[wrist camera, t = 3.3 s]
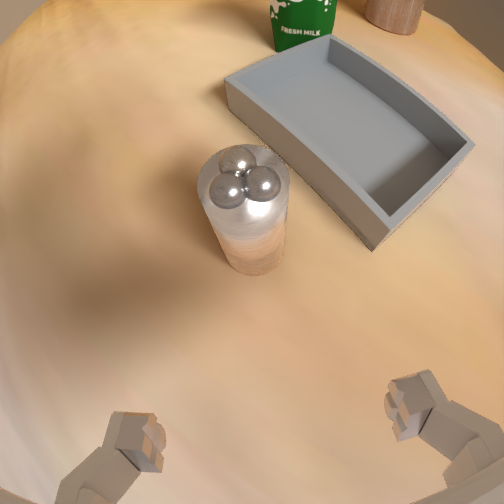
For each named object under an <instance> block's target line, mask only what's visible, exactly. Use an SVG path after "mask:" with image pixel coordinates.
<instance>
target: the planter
mask: <svg viewBox="0 0 504 504" xmlns="http://www.w3.org/2000/svg"><path fill="white" fill-rule="evenodd" d="M424 3H425V0H366V6H365V14H364V15H365V17H366V19H367V20H368V21H370V22H371V23H372V24H374V25H375V26H377V27H379V28H381V29H383V30H386V31H389V32H392V33H396V34H400V35H411V34H414V33H415V31H416V29H417V26H418V23H419V20H420V16H421V13H422V10H423V6H424Z"/></svg>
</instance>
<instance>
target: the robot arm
mask: <svg viewBox="0 0 504 504" xmlns="http://www.w3.org/2000/svg"><path fill="white" fill-rule="evenodd" d="M388 389H389V392H388V393H387V394H386V395H385V400H384V405H385V411H386V414H387V417H388V418H389V419H390V420H392V421H394V423H393V426H392V429H393V432H394V434H395V437H396V439H397V442H399V441H402V440H405V439H408V438H411V437H414V436H417V435H419V437H420V438H421V439H423V440H424V441H425V442H427V443H428V444H429V445H431V446H432V447H433V448H435V449H436V450H437V451H439V452H440V453H441V454H443V455H444V456H445V457H447V458H448V459H449V460H451V461H452V462H451V464H450V465H449V466H448V467H447V468H446V469H445V470H444V472H443V476H444V479H445V481H446V484H447V487H448V488H446V489H444V490H442V491H439V492H437V493H435V494H433V495H430V496H428V497H426V498H423V499H421V500H418V501H416V502H413V503H410V504H504V433H503V431H502V429H501V428H500V426H499V424H497V423H495V422H493V421H491V420H489V419H487V418H485V417H483V416H481V415H479V414H477V413H475V412H474V411H472V410H470V409H468V408H466V407H464V406H462V405H460V404H458V403H456V402H455V401H453V400H451V401H448V399H447V397H446V395H445V394H444V392H443V390H442V389H441V387H440V385H439V384H438V382H437V380H436V379H435V377H434V375H433V374H432V372H431V371H430V370H429V369H427V370H423V371H421V372H418V373H413V374H410V375H407V376H404V377H401V378H398V379H394V380H391V381H390V382H389V384H388ZM156 421H157V417H156V416H155V415H154V413H134V412H115V411H114V412H113V414H112V415H111V418H110V421H109V424H108V428H107V431H106V435H105V438H104V442H103V445H102V447H98V448H97V449H96V450H95V451H94V452H93V453H92V454H90V455H89V456H88V457H87V458H86V459H85V460H84V461H83V462H82V463H81V464H80V465H78V466H77V467H76V468H75V469H74V470H73V471H72V472H71V473H70V474H68V475H67V476H66V477H65V478H64V479H63V480H62V481H61V482H60V486H59V489H58V493H57V496H56V500H55V504H116V503H117V502H118V501H119V500H120V498H121V497H122V496H123V495H124V494H125V492H126V491H127V490H128V489H129V487H130V486H131V485H132V484H133V482H134V481H135V480H136V479H137V477H138V476H139V475H140V473H141V472H156V473H162V468H163V460H164V457H163V456H162V454H161V452H162V451H163V450H164V448H165V446H166V434H165V431H164V428H163V427H162V425H161V424H159V423H157V422H156ZM0 504H37V503H34V502H32V501H29V500H27V499H25V498H22V497H20V496H18V495H15V494H13V493H11V492H9V491H7V490H5V489H3V488H1V487H0Z"/></svg>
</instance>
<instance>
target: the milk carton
mask: <svg viewBox="0 0 504 504" xmlns="http://www.w3.org/2000/svg"><path fill="white" fill-rule="evenodd" d="M336 5H337V0H270V15H271V23H272V29H273V34H274V41H275V47H276V52H282V51H285V50H287V49H290V48H292V47H295V46H297V45H300V44H303V43H305V42H308V41H311V40H313V39H316V38H319V37H322V36H325V35H328V34H331V33H332V29H333V26H334V20H335V13H336Z"/></svg>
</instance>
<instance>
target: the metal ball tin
mask: <svg viewBox="0 0 504 504" xmlns="http://www.w3.org/2000/svg"><path fill="white" fill-rule="evenodd" d="M197 192H198V196H199V199H200V201H201V203H202V205H203V208H204V210H205V212H206V214H207V216H208V219H209V221H210V223H211V225H212V228H213V230H214V232H215V234H216V236H217V239H218V241H219V243H220V245H221V247H222V249H223V252H224V254H225V256H226V258H227V260H228V262H229V264H230V265H231V266H232V267H233V268H234V269H235V270H236V271H238V272H240V273H242V274H245V275H249V276H259V275H263V274H266V273H268V272H270V271H271V270H273V269H274V268H275V267H276V266H277V265H278V264H279V262H280V260H281V258H282V256H283V251H284V242H285V231H286V220H287V208H288V196H289V173H288V170H287V168H286V166H285V164H284V163H283V161H282V160H281V159H280V158H279V157H278V156H277V155H276V154H275V153H273V152H272V151H270V150H268V149H266V148H264V147H261V146H256V145H249V144H242V145H235V146H231V147H228V148H225V149H223V150H221V151H219V152H217V153H216V154H214V155H213V156H212V157H211V158H210V159H208V161H207V162H206V163H205V164H204V166H203V167H202V169H201V171H200V173H199V176H198V180H197Z"/></svg>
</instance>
